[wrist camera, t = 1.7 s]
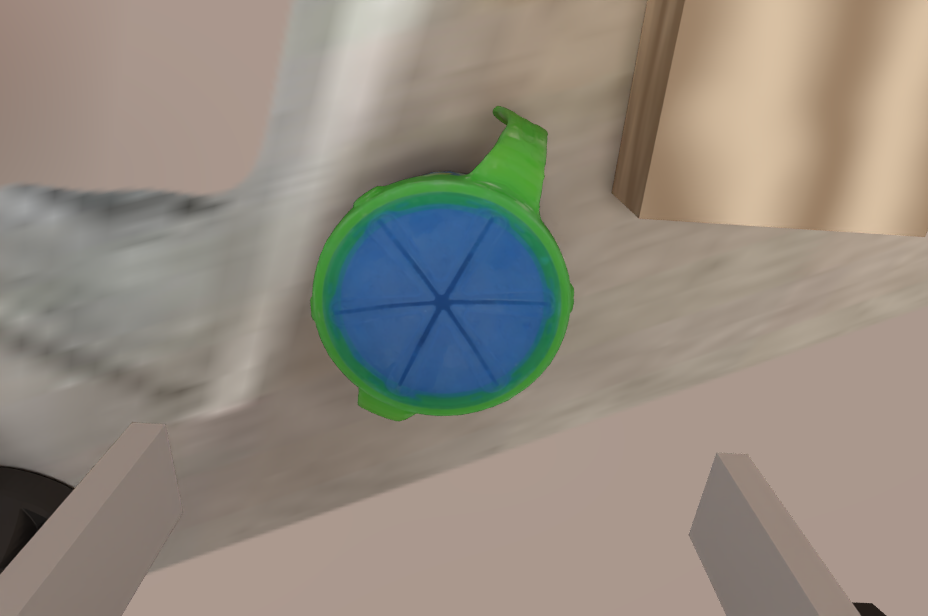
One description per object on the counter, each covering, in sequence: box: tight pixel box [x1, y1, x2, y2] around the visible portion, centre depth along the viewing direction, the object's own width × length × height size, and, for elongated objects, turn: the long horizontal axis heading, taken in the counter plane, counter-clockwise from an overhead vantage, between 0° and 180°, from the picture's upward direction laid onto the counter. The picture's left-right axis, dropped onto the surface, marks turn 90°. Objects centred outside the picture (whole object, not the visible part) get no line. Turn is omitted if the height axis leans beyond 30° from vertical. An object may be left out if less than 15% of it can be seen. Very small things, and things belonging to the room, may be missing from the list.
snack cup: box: [310, 106, 574, 421], centre depth 27 cm, size 16×10×10 cm
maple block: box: [612, 0, 928, 237], centre depth 26 cm, size 14×14×5 cm
